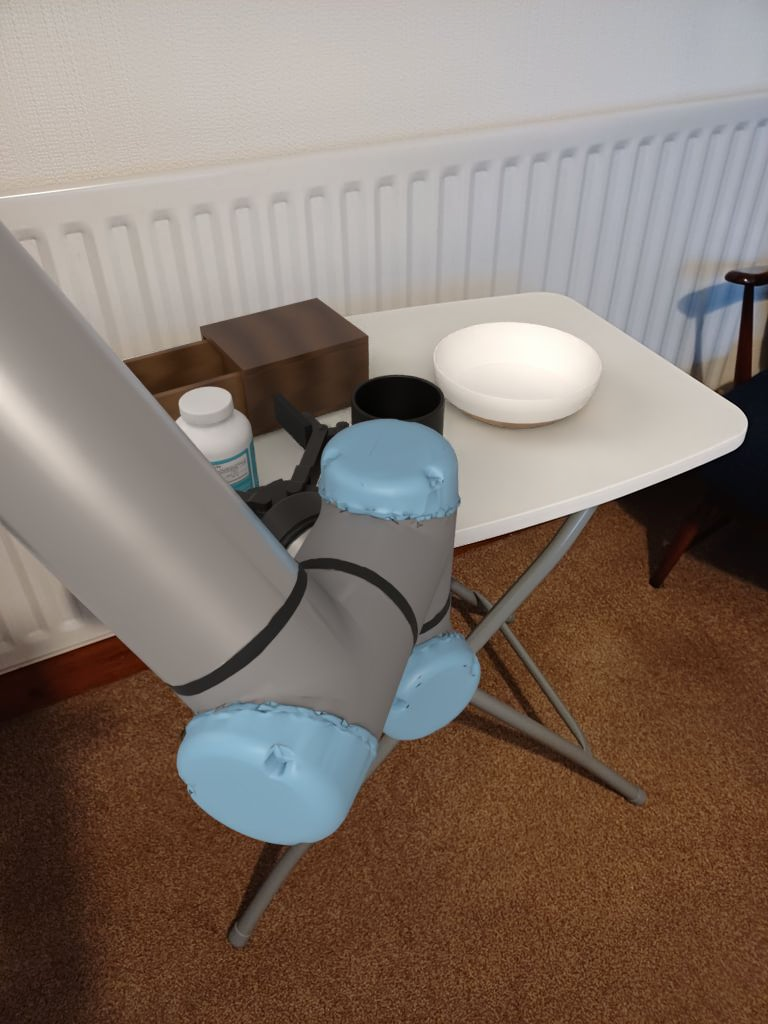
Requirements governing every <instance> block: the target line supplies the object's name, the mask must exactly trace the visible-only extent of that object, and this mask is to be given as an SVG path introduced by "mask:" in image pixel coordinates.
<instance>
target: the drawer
mask: <svg viewBox="0 0 768 1024" xmlns="http://www.w3.org/2000/svg"><path fill="white" fill-rule="evenodd" d="M122 361H123V362H124V363H125V364H126V366H127V367H128V368H129V369H130V370H131V371H132V373H133V374H134V375H135V376H136V377H137V378H138V379H139V381H140V382H141V383H142V384H143V385H144V386H145V388H146V389H147V390H148V391H149V392H150V393H151V395H152V396H153V397H154V398H155V399H156V400H157V401H158V403H159V404H160V405H161V406H162V407H163V408H164V410H165V411H166V412H167V413H168V414H169V415H170V416H171V418H172V419H173V420H174V421H176V420H177V419H178V418H179V417H180V416H181V415H180V409H179V400H180V398H181V397H182V396H183V395H184V394H185V393H187V392H189V391H191V390H194V389H197V388H201V387H219V388H222V389H225V390H227V391H228V392H229V393H230V394H231V396H232V401H233V406H234V409H236V410H238V411H239V412H241V413H242V414H243V415H245V416H246V418H247V413H246V406H245V398H244V390H243V382H242V374H241V373H240V372H239V371H238V370H237V369H236V368H235V367H234V366H233V365H232V364H231V363H230V362H229V361H228V360H227V359H226V358H225V357H224V356H223V355H222V354H221V353H220V352H219V351H218V350H217V349H216V348H215V347H214V346H213V345H212V344H211V343H210V342H209V341H208V340H207V339H205V340H202V339H201V340H198V341H197V340H196V341H193V342H190V343H186V344H181V345H177V346H174V347H170V348H166V349H163V350H158V351H154V352H151V353H147V354H142V355H139V356H134V357H130V358H127V359H123V360H122Z"/></svg>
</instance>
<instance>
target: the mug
mask: <svg viewBox="0 0 768 1024" xmlns="http://www.w3.org/2000/svg"><path fill="white" fill-rule="evenodd" d="M445 404H446V397H445V396H444V394H443V392H442V391H441V389H440V388H439V386H438V384H435V383H433V382H432V381H430V380H428V379H425V378H422V377H419V376H416V375H410V374H409V375H408V374H385V375H379V376H375V377H371V378H369V380H367V381H365V382H363V383H361V384H360V385H358V386H357V387H356V388H355V389H354V391H353V393H352V395H351V407H350V418H351V419H350V420H351V421H350V422H351V426H352V425H355V424H358V423H361V422H365V421H370V420H377V419H397V420H401V421H406V422H416V423H419V424H422V425H424V426H427V427H429V428H431V429H433V430H435V431H436V432H438V433H439V434H440V435H442V436H443V437H444V424H445V407H446V406H445Z"/></svg>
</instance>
